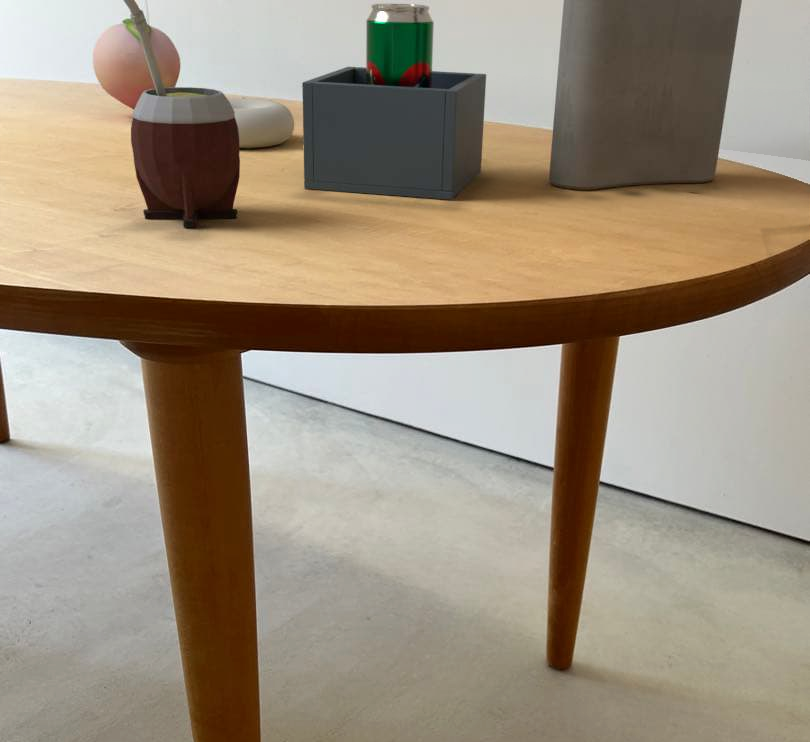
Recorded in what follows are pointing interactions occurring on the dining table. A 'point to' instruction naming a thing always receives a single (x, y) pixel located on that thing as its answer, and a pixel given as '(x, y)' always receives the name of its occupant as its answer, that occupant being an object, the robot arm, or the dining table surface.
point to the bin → (393, 134)
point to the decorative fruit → (133, 62)
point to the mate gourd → (183, 146)
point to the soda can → (399, 46)
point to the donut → (261, 122)
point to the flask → (641, 91)
